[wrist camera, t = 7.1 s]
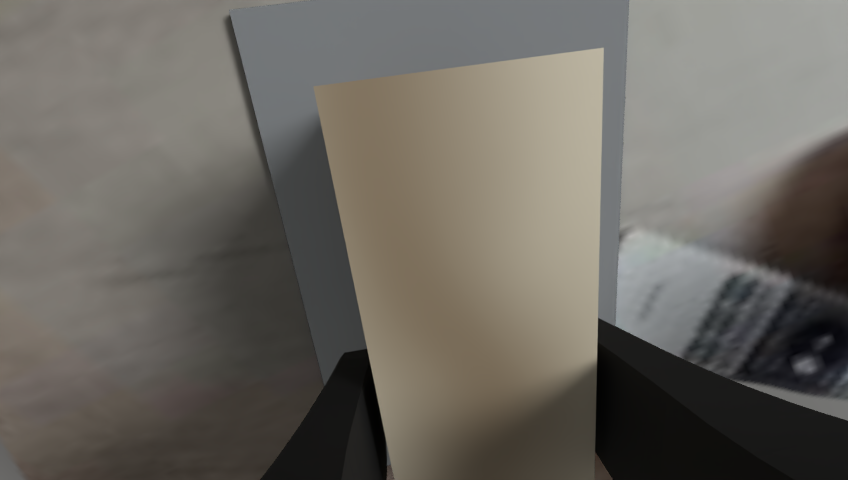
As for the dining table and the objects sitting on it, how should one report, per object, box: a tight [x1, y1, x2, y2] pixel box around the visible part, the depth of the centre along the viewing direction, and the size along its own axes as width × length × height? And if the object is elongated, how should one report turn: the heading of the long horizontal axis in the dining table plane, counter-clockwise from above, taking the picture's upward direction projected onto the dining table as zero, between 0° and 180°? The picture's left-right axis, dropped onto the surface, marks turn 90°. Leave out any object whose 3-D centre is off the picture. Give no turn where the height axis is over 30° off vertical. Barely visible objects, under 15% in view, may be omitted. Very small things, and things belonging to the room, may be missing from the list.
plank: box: [313, 48, 604, 480], centre depth 10 cm, size 4×13×4 cm, turn 7°
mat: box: [229, 0, 629, 466], centre depth 16 cm, size 12×18×1 cm, turn 7°
